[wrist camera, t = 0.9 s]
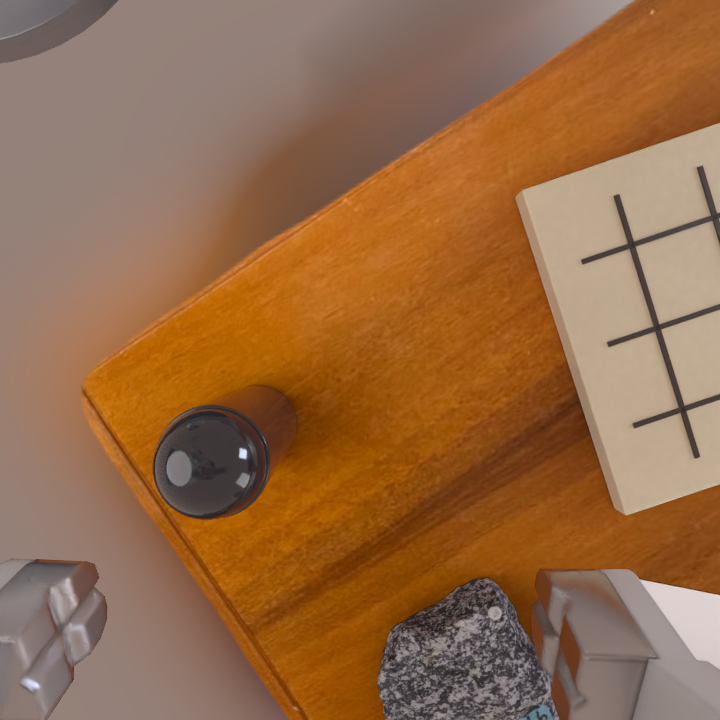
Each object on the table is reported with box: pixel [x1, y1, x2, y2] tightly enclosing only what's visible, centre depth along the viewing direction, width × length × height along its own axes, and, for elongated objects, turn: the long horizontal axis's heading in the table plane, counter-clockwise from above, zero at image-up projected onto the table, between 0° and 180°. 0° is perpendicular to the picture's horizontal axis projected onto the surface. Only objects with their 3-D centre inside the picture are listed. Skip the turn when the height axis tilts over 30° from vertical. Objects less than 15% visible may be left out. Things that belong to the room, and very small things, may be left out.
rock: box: [378, 578, 559, 720], centre depth 25 cm, size 8×10×4 cm
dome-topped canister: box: [153, 385, 298, 520], centre depth 21 cm, size 5×5×10 cm
